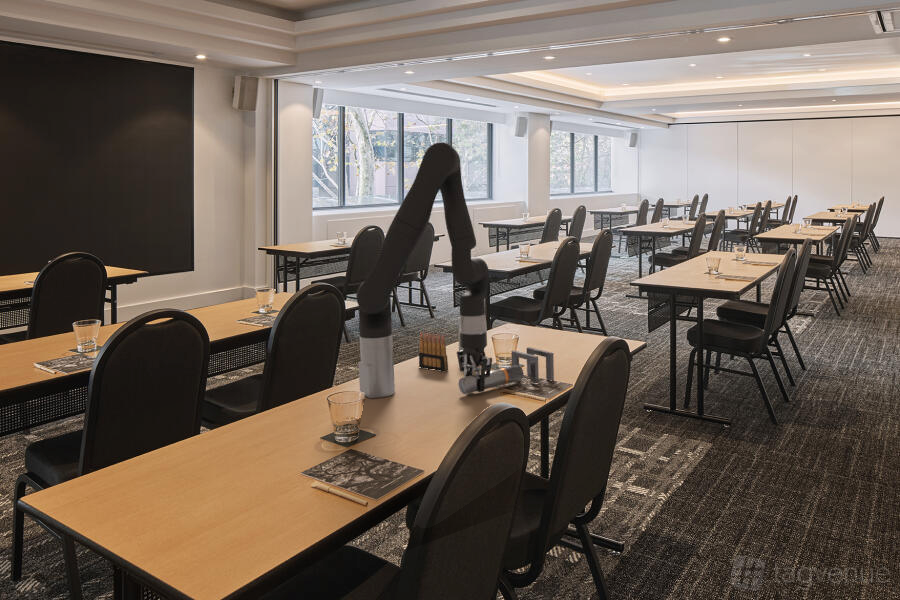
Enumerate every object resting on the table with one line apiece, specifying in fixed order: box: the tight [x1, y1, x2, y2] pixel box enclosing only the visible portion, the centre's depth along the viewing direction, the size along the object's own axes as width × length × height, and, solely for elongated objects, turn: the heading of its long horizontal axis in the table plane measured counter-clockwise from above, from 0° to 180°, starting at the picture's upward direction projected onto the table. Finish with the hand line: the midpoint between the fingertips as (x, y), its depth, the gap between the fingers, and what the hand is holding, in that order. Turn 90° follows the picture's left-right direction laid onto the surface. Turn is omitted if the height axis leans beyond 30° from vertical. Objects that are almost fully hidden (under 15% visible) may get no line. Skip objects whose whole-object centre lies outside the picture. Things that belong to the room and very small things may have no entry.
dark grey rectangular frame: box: [526, 346, 555, 382], centre depth 222 cm, size 1×11×8 cm, turn 35°
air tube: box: [458, 364, 524, 395], centre depth 211 cm, size 20×5×5 cm, turn 125°
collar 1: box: [511, 350, 540, 383], centre depth 218 cm, size 1×11×8 cm, turn 35°
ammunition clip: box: [418, 331, 449, 372], centre depth 236 cm, size 11×2×12 cm, turn 52°
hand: (475, 389), depth 208 cm, fingers closed on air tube, 4 cm apart
